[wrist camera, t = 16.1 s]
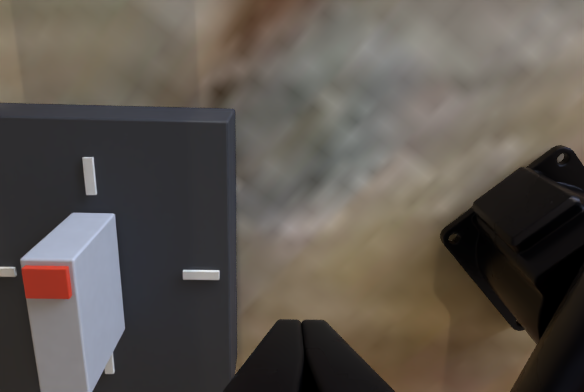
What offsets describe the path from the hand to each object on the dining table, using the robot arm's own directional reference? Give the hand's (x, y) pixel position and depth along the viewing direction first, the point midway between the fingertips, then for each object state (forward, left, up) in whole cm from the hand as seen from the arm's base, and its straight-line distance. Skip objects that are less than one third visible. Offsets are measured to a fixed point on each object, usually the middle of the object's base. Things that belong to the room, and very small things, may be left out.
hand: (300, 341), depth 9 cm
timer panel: (+2, +8, -13) cm, 15 cm away
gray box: (+2, +8, -10) cm, 13 cm away
